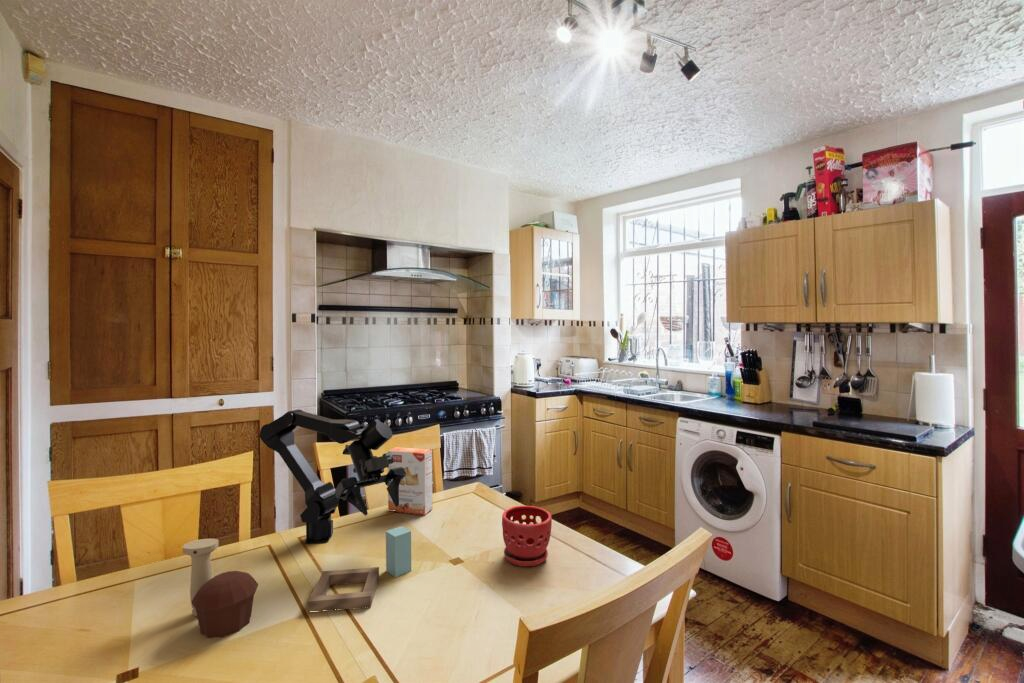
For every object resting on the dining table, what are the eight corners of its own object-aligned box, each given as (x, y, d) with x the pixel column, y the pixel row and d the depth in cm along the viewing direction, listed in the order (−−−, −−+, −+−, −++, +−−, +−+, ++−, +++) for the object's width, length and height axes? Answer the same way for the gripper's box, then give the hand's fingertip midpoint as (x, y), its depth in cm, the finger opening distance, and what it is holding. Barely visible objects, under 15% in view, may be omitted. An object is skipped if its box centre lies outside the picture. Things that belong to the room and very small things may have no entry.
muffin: (240, 602, 103) (240, 557, 103) (269, 617, 98) (269, 570, 98) (180, 631, 93) (179, 582, 93) (209, 650, 88) (208, 597, 88)
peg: (386, 570, 117) (385, 531, 117) (401, 564, 120) (401, 526, 120) (395, 577, 114) (395, 536, 114) (411, 570, 117) (411, 531, 117)
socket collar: (307, 613, 99) (307, 601, 99) (323, 581, 112) (323, 571, 112) (370, 607, 101) (370, 596, 101) (379, 577, 114) (378, 567, 114)
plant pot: (496, 568, 118) (496, 521, 118) (509, 545, 131) (508, 503, 131) (547, 574, 115) (547, 525, 115) (555, 550, 128) (554, 506, 128)
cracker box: (387, 512, 157) (386, 450, 157) (396, 505, 163) (396, 446, 162) (424, 516, 153) (424, 452, 153) (433, 509, 159) (432, 448, 158)
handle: (212, 618, 98) (211, 547, 97) (179, 621, 97) (178, 549, 96) (223, 605, 102) (222, 537, 102) (191, 608, 101) (190, 539, 101)
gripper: (341, 448, 120) (360, 503, 112) (404, 438, 133) (425, 487, 126) (327, 471, 126) (344, 525, 118) (388, 459, 139) (408, 507, 131)
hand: (382, 510), depth 123 cm, fingers open, 9 cm apart
